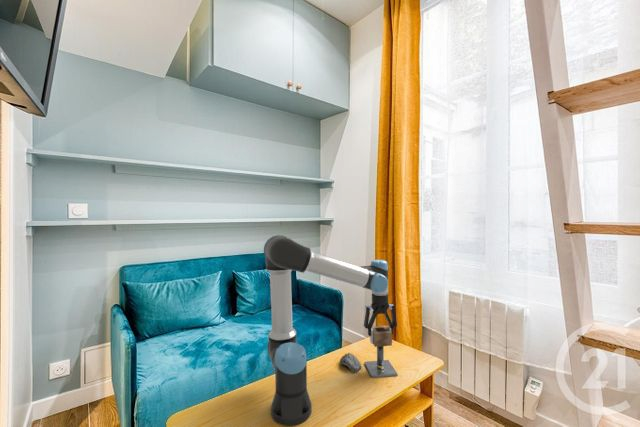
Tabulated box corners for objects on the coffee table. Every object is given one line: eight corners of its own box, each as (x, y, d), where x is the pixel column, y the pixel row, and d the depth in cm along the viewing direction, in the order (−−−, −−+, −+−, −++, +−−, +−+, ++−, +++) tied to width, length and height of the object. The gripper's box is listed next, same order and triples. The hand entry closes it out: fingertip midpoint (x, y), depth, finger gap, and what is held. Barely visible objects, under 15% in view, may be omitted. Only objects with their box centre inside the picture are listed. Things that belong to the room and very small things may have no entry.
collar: (374, 346, 134) (374, 333, 134) (369, 339, 142) (369, 326, 142) (391, 345, 135) (391, 332, 135) (386, 337, 143) (385, 325, 143)
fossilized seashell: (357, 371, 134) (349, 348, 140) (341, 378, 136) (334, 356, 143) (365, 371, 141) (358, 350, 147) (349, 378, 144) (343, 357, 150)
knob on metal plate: (371, 377, 132) (371, 353, 132) (364, 363, 144) (364, 341, 144) (397, 375, 133) (397, 351, 133) (388, 361, 145) (388, 339, 145)
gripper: (360, 297, 133) (360, 347, 133) (404, 294, 135) (405, 343, 136) (356, 292, 140) (356, 339, 141) (398, 290, 143) (398, 336, 143)
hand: (380, 341), depth 138 cm, fingers closed on collar, 8 cm apart
